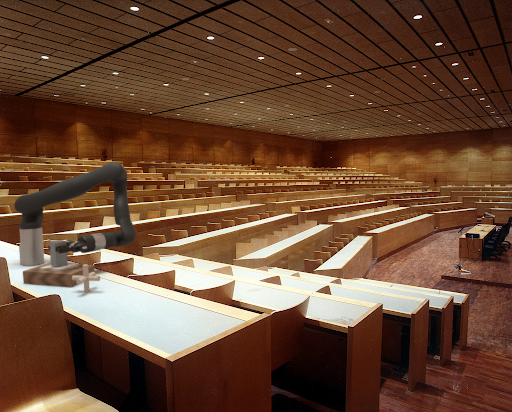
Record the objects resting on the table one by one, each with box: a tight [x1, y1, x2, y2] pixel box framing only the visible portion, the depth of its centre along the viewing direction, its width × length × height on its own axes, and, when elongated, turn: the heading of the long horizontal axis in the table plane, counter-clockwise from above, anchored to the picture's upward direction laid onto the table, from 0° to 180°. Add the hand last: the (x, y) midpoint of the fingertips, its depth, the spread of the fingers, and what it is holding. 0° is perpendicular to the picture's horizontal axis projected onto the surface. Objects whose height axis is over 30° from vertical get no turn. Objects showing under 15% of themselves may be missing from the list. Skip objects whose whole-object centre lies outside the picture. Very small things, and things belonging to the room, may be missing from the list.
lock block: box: [49, 239, 69, 268], centre depth 152 cm, size 4×4×10 cm
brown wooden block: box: [22, 261, 96, 288], centre depth 153 cm, size 22×14×6 cm, turn 77°
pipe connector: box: [72, 264, 101, 293], centre depth 138 cm, size 10×10×10 cm
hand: (53, 249), depth 150 cm, fingers open, 8 cm apart
